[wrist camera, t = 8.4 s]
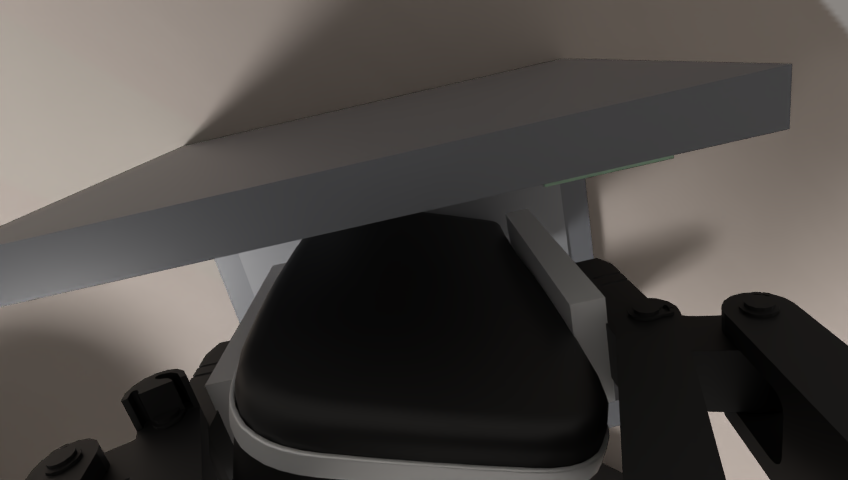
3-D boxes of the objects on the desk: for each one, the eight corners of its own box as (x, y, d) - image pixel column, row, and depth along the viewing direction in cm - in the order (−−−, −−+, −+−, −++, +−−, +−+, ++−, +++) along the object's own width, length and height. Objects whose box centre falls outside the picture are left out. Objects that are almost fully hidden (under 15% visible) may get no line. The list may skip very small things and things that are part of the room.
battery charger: (305, 292, 19) (192, 600, 8) (312, 195, 18) (190, 410, 7) (487, 311, 20) (598, 617, 9) (506, 218, 18) (663, 446, 8)
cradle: (278, 392, 22) (178, 687, 12) (182, 146, 18) (-88, 264, 8) (592, 323, 22) (772, 563, 12) (563, 58, 18) (792, 63, 8)
